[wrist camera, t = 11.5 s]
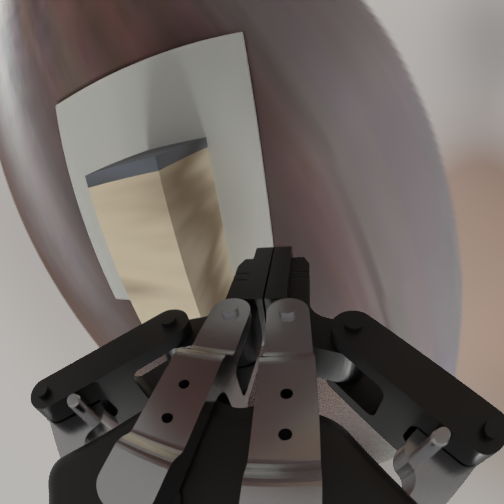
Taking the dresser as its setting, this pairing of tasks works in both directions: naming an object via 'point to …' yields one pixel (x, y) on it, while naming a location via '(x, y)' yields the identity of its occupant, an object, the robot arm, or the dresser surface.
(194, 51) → the felt mat
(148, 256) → the maple block
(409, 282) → the dresser surface
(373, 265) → the dresser surface
